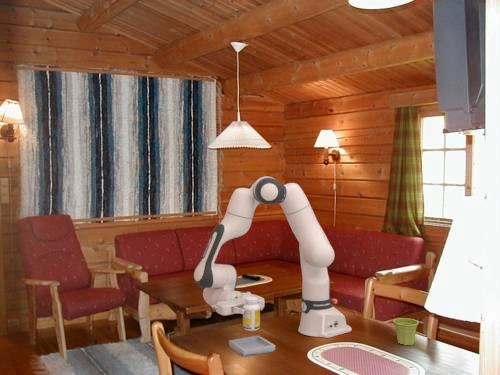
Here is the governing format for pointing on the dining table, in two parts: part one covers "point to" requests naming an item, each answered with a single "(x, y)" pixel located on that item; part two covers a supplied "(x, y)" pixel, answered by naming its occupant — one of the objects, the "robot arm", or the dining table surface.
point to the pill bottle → (251, 314)
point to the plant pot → (405, 330)
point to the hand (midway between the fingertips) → (252, 310)
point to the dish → (251, 346)
